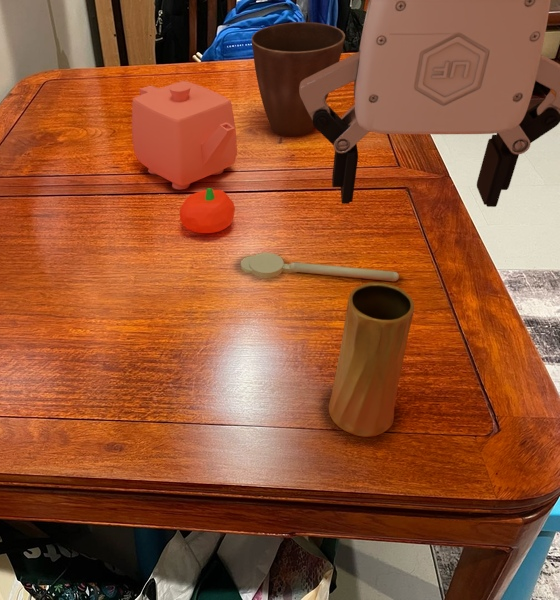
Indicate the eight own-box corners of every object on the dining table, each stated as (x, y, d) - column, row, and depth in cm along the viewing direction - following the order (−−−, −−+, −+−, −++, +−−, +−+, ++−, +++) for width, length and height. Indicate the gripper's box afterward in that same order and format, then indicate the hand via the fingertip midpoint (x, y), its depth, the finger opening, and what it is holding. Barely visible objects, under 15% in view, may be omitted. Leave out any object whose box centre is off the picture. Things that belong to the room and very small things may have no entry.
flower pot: (353, 128, 109) (365, 33, 99) (292, 155, 103) (298, 58, 93) (292, 105, 119) (297, 16, 109) (233, 129, 113) (232, 38, 103)
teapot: (261, 182, 97) (263, 93, 88) (197, 211, 92) (192, 120, 83) (178, 138, 112) (173, 58, 103) (119, 161, 107) (108, 80, 98)
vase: (327, 387, 64) (342, 277, 55) (390, 392, 63) (415, 280, 53) (329, 434, 59) (344, 323, 50) (396, 441, 58) (425, 327, 49)
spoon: (398, 270, 78) (399, 262, 77) (398, 292, 74) (399, 284, 74) (243, 255, 83) (243, 248, 82) (237, 275, 79) (237, 268, 79)
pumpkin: (172, 222, 90) (169, 183, 86) (223, 209, 92) (222, 170, 88) (190, 248, 85) (188, 207, 81) (244, 233, 87) (244, 193, 83)
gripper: (309, -52, 33) (292, 220, 44) (677, -72, 30) (560, 227, 41) (308, -78, 39) (293, 169, 50) (618, -97, 35) (530, 172, 46)
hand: (414, 195), depth 45 cm, fingers open, 9 cm apart
